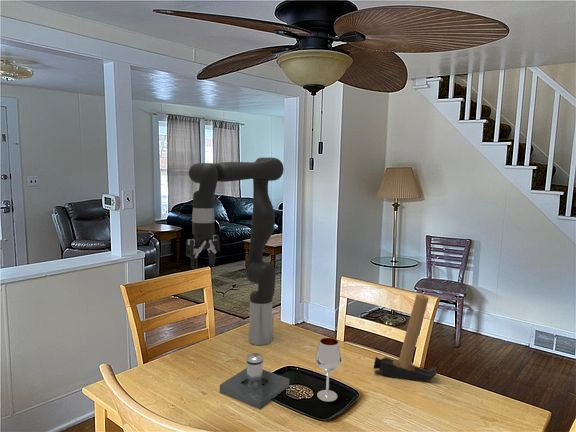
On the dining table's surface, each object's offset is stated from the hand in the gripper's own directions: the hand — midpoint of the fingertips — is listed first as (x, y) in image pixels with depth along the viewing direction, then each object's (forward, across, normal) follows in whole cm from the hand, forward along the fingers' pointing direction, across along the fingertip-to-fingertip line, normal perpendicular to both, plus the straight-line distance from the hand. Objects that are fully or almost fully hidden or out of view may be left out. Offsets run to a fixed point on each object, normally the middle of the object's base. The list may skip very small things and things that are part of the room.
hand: (203, 266), depth 146 cm
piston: (+36, -3, -26) cm, 45 cm away
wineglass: (+36, +7, -47) cm, 60 cm away
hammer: (+36, +34, -63) cm, 80 cm away
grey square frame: (+36, -3, -26) cm, 45 cm away
